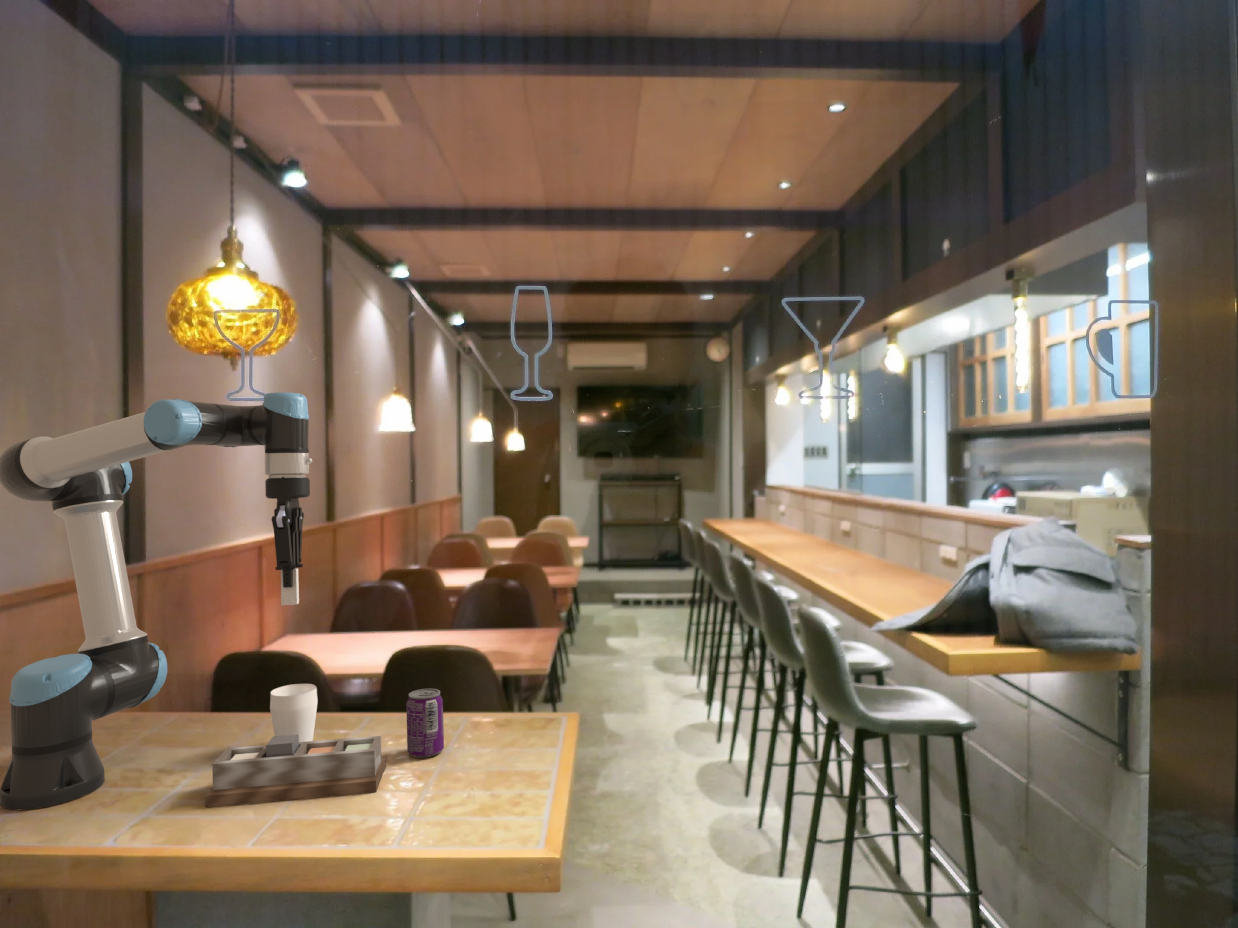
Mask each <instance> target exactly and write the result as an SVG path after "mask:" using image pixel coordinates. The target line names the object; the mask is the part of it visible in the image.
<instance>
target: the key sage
mask: <svg viewBox="0 0 1238 928" xmlns="http://www.w3.org/2000/svg"><path fill="white" fill-rule="evenodd" d="M371 745H372V743H371V744H358V745H348V746H347V748H346V750H345V751H351V750H364V749H370V747H371Z"/></svg>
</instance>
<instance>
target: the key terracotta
mask: <svg viewBox="0 0 1238 928" xmlns="http://www.w3.org/2000/svg"><path fill="white" fill-rule="evenodd" d="M334 748H335V746H334V747H321V748H311V749H310V751H309V752H308V754H314V753H327V752H332V751H333V749H334Z"/></svg>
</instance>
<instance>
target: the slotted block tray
mask: <svg viewBox="0 0 1238 928" xmlns="http://www.w3.org/2000/svg"><path fill="white" fill-rule="evenodd" d="M371 743H372V745H371V747H370V749H364V750H351V751H345V750H346V748H347V746H348V745H358V744H371ZM334 746H335V748H334V749H333V751H332V752H327V753H314V754H308V752H309V751H310V749H311V748H321V747H334ZM247 753H259V754H258V755H257V756H256V757H255V758H253V759H240V760H231V759H232V758H233V757H234V756H235V754H247ZM211 765H212V767H211V768H212V769H211V770H212V788H211V789H210V790H209V791H208V792H207V793H206V794H205V796H204V797H205V799H204V802H205V804H204V805H205V807H204V808H213V807H215V808H217V807H224V806H237V805H246V804H248V805H249V804H258V803H259V804H261V803H270V802H279V801H281V802H283V801H292V800H293V801H294V800H302V799H303V800H304V799H305V800H306V799H315V798H325V797H326V798H327V797H335V796H344V795H345V796H348V795H361V794H368V793H377V791H378V789H379V786H380V783H381V780H382V777H383V775H384V772H385V769H386V767H387V756H386V755H382V736H381V735H376V736H375V735H374V736H364V737H360V736H359V737H349V738H347V737H346V738H337V739H336V738H335V739H323V740H321V739H320V740H313V741H308V742H299V748H298V750H297V751H296V752H295V754H294V755H290V756H277V757H266V744H261V745H258V744H257V745H248V746H247V745H246V746H233V747H227V748H226V749H225V750H224V751H223V752H222V754H221V755H219V756H218V758H216V760H214V762H212V764H211Z"/></svg>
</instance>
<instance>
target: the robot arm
mask: <svg viewBox="0 0 1238 928" xmlns="http://www.w3.org/2000/svg"><path fill="white" fill-rule="evenodd" d="M308 407H309V406H308V400H307V397H306V396H305V395H304V394H302V393H298V392H287V391H286V392H282V391H281V392H278V391H277V392H270V393H269V392H268V393H266V394H264V395H263V402H262V404H260V405H233V404H232V405H230V404H221V403H212V402H211V403H210V402H209V403H208V402H201V401H192V400H185V399H180V398H173V399H159V400H156V401H154V402H153V403H152V404H151V405H150V406H149V407H147V408H146V411H144V412H140V413H137V414H133V415H131V416H127V417H123V418H121V419H120V418H119V419H116V420H112V421H110V422H106V423H102V424H99V425H95V426H92V427H89V428H85V429H82V430H79V431H74V432H72V433H68V434H64V435H61V436H57V437H54V438H53V437H50V436H37V437H36V436H35V437H32V438H29V439H26V440H25V439H24V440H23V441H19V442H17V443H14V444H12V445H10V446H9V447H8V448H6V449H5V450H4V451H3V452H2V454H1V455H0V485H1V486H2V487H3V489H4V490H6V492H8V493H10V494H11V495H12V496H14V497H16V498H19V499H22V500H25V501H31V502H51V506H52V511H53V514H54V515H56V516H57V517H60V518H61V519H63V521H64V524H65V525H64V526H65V530H66V535H67V540H68V541H67V542H68V546H69V553H70V558H71V564H72V570H73V576H74V582H75V586H76V593H77V598H78V602H79V603H78V604H79V608H80V614H81V621H82V626H83V631H84V636H85V640H84V641H83V643H82V644H81V646H80V647H79V648H78V649H77V652H78V653H68V654H61V655H58V656H56V657H47V658H44V659H41V660H37V661H35V662H32V663H29V664H28V665H25V666H23V667H22V668H20V669H18V671H17V672H16V673H15V674H14V675H13V677H12V679H11V683H10V684H11V685H10V694H9V699H8V700H9V703H10V718H11V719H10V724H11V728H10V729H11V731H10V732H11V758H10V760H9V761H10V762H9V764H8V767H7V771H5V772H6V773H5V775H4V778H3V781H2V784H1V786H0V804H1V805H0V807H2V808H3V807H5V808H4V809H7V810H13V809H25V810H34V809H40V808H39V807H42V808H46V807H51V806H56V805H60V804H64V803H67V802H70V801H74V800H76V799H79V798H81V797H84V796H86V795H88V794H91V793H93V792H94V791H96V790H98V789H99V788H100V787H102V786H103V785H104V783H105V767H104V765H103V762H102V760H101V758H100V755H99V753H98V751H97V748H96V746H95V745H94V742H93V721H96V720H98V719H100V718H104V717H106V716H109V715H112V714H115V713H117V712H121V711H123V710H126V709H130V708H135V707H137V706H139V705H141V704H142V703H145V702H147V701H150V700H151V699H152V698H154V697H155V696H156V695H158V693H159V692H160V690H161V688H162V687H163V686H164V684H165V682H166V679H167V675H168V660H167V657H166V654H165V653H164V651H163V650H162V649H160V647H159V645H157V644H156V643H152V642H149V636H148V633H147V632H145V631H143V630H141V629H140V628H138V626H137V620H136V616H135V610H134V604H133V598H132V593H131V592H132V591H131V587H130V582H129V577H128V576H129V575H128V571H127V564H126V559H125V555H124V554H125V553H124V550H123V544H122V540H121V539H122V538H121V533H120V526H119V521H118V515H117V512H118V510H119V508H121V506H122V505H123V504H124V498H123V495H125V494H126V493H127V492H128V491H129V489H130V487H131V485H130V484H131V483H132V481H133V470H132V467H131V464H130V462H132V461H136V460H139V459H142V458H147V457H150V456H153V455H157V454H160V453H164V452H167V451H173V450H176V449H181V448H183V447H184V448H185V447H186V446H216V447H223V448H238V447H250V446H251V447H252V446H264V475H266V476H268V478H266V480H265V482H264V484H265V487H264V488H265V497H266V499H271V500H272V499H273V500H274V499H275V500H276V506H275V508H274V511H273V513H274V515H272V516H271V519H270V520H271V522H272V528H273V535H274V547H275V557H276V566H275V571H280V600H281V601H280V602H281V606H295V605H298V604H300V594H299V593H300V591H299V589H300V588H299V587H300V586H299V585H300V584H299V568H304V564H303V563H302V553H303V552H302V545H303V523H304V516H305V513H304V511H303V508H302V507H300V500H299V499H302V498H304V499H305V498H308V497H310V495H311V488H310V487H311V484H310V482H311V480H310V478H309V477H306V475H309V474H310V464H312V463H313V459H312V457H311V458H310V453H309V452H310V451H309V426H310V425H309V422H310V415H309V408H308Z"/></svg>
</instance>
